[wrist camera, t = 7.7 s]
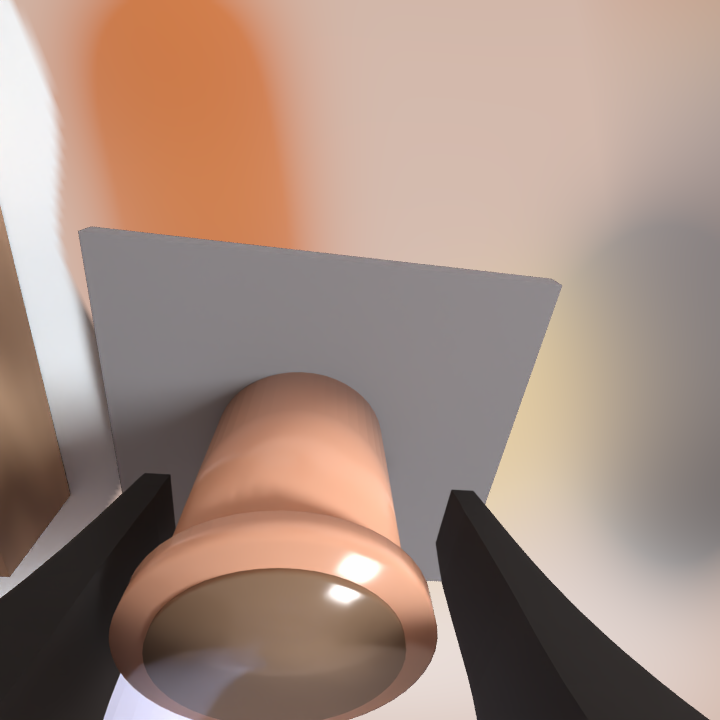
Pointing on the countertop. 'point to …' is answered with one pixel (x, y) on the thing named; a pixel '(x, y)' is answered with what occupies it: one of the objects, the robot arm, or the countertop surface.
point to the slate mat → (313, 356)
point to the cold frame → (23, 429)
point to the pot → (281, 570)
